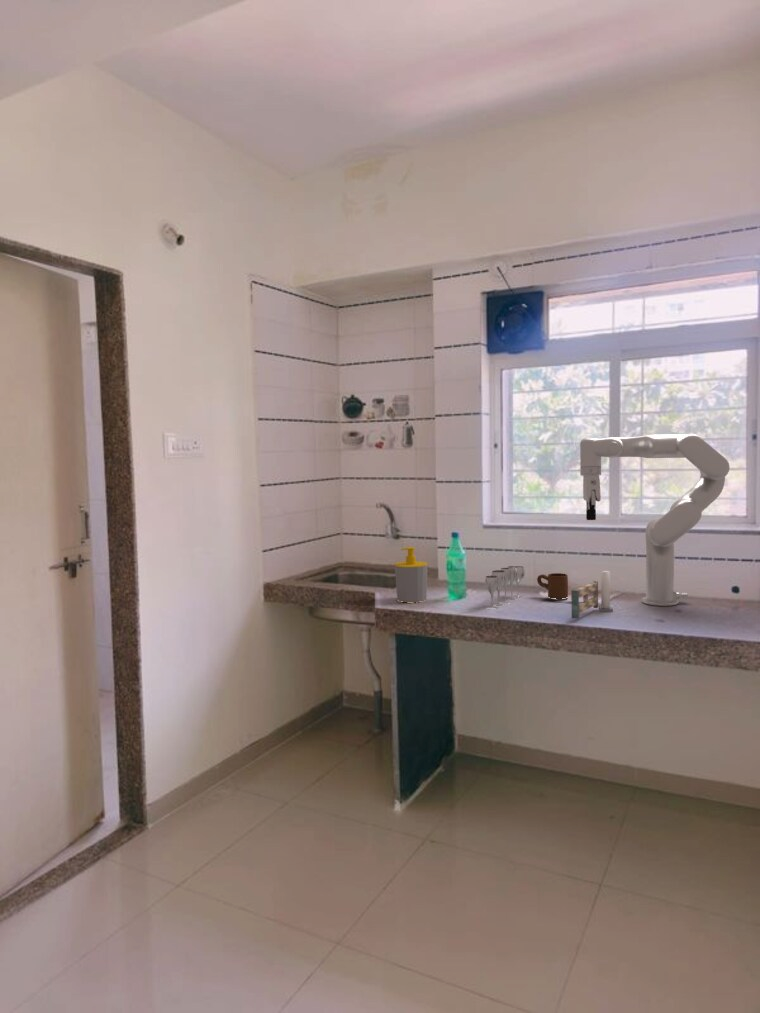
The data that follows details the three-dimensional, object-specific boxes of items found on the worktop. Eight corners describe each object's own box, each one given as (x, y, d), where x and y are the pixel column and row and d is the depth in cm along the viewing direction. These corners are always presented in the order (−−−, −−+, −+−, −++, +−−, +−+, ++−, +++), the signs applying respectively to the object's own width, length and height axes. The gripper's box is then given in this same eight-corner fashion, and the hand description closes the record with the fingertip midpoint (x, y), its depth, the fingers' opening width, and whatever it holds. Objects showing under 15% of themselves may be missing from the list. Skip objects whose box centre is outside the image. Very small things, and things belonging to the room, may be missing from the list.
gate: (594, 606, 247) (594, 580, 246) (599, 607, 246) (598, 581, 245) (571, 618, 232) (571, 590, 231) (576, 618, 231) (576, 591, 230)
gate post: (610, 608, 248) (609, 570, 247) (613, 611, 243) (612, 572, 242) (598, 608, 248) (598, 570, 247) (601, 611, 243) (601, 572, 242)
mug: (534, 598, 268) (534, 575, 267) (540, 595, 275) (539, 571, 274) (565, 601, 262) (565, 577, 261) (570, 597, 269) (570, 573, 268)
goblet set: (496, 610, 251) (495, 574, 250) (482, 608, 254) (481, 573, 253) (527, 596, 273) (527, 563, 272) (514, 595, 277) (513, 562, 276)
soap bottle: (395, 597, 279) (394, 545, 277) (427, 596, 278) (426, 544, 277) (395, 604, 266) (393, 550, 264) (428, 603, 265) (427, 549, 264)
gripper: (605, 471, 250) (605, 521, 252) (597, 470, 265) (597, 517, 266) (584, 472, 251) (584, 522, 252) (577, 471, 266) (577, 518, 267)
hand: (591, 519), depth 259 cm, fingers closed
